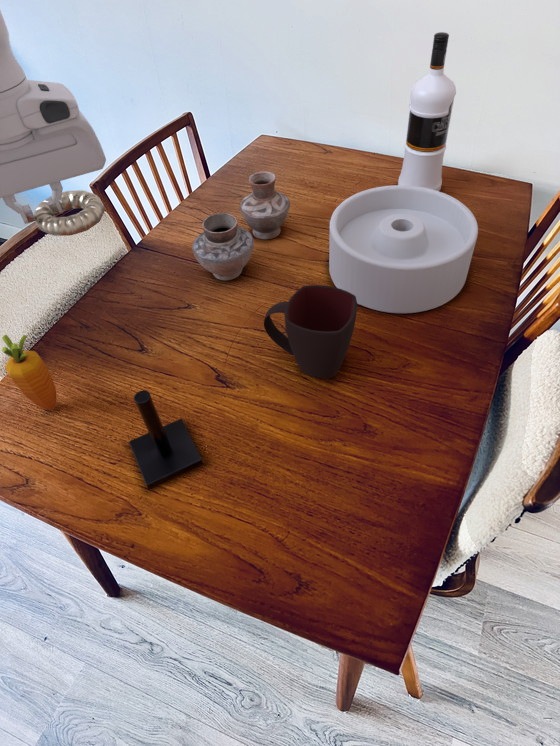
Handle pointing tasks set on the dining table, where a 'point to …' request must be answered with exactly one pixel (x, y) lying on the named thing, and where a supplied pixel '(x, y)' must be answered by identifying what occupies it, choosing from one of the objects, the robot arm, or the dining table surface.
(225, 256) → the pottery
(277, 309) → the cup
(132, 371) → the dining table surface
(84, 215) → the ring
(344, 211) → the container
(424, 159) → the vodka
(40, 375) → the carrot
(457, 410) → the dining table surface
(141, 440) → the peg stand
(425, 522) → the dining table surface
